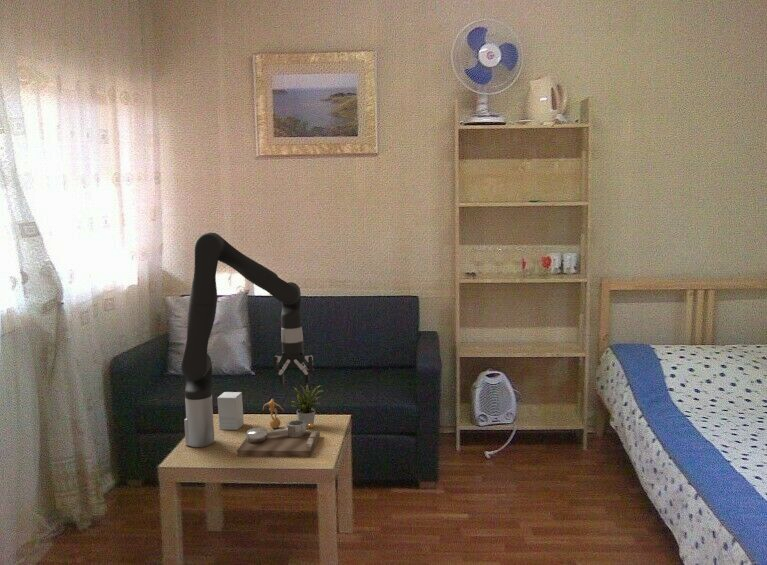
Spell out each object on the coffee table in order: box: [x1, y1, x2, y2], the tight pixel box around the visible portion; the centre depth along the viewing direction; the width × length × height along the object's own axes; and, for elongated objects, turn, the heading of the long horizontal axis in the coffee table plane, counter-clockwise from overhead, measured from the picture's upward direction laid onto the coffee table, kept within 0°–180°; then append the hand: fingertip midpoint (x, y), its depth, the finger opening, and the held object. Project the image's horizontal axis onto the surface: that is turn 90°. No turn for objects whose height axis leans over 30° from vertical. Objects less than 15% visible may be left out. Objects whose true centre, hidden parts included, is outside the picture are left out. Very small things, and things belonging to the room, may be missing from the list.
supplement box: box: [216, 391, 245, 431], centre depth 269 cm, size 7×7×13 cm
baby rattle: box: [246, 419, 314, 443], centre depth 252 cm, size 24×7×4 cm, turn 110°
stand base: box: [236, 430, 321, 458], centre depth 249 cm, size 25×19×3 cm
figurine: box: [262, 398, 285, 429], centre depth 265 cm, size 8×6×12 cm
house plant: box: [290, 384, 323, 430], centre depth 267 cm, size 14×14×16 cm
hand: (294, 384), depth 252 cm, fingers open, 8 cm apart
